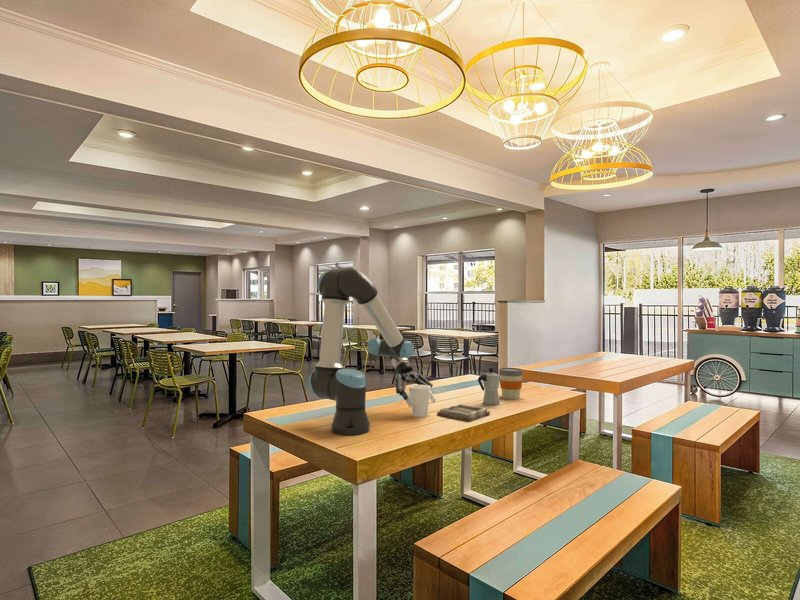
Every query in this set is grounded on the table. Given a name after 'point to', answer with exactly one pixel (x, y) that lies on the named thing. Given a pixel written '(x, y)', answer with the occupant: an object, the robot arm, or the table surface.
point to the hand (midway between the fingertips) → (423, 403)
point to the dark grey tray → (463, 412)
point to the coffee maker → (490, 387)
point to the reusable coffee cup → (510, 382)
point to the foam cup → (420, 399)
